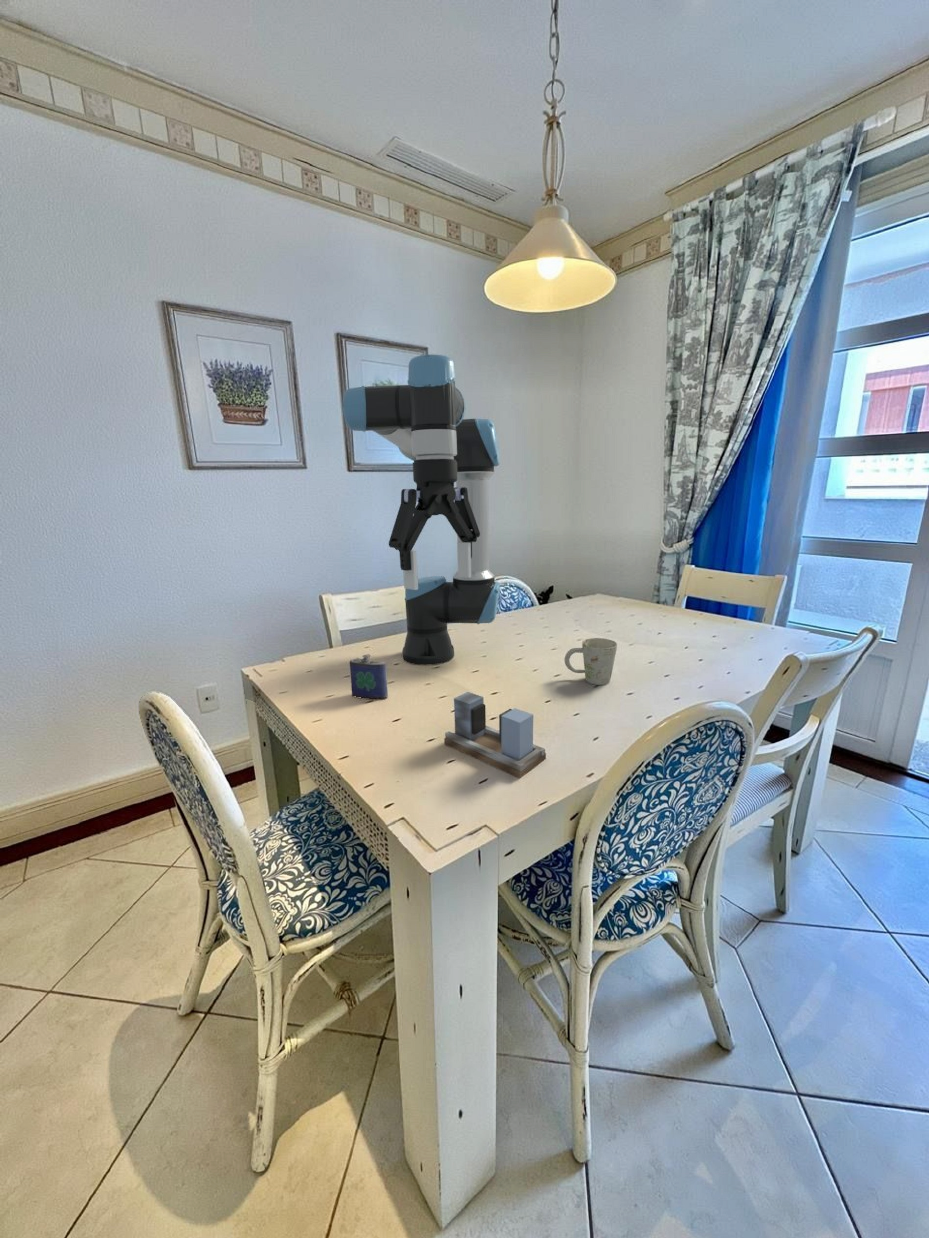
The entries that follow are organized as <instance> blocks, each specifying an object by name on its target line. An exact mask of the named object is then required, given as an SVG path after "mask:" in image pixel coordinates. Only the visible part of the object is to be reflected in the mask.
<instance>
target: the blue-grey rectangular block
mask: <svg viewBox="0 0 929 1238" xmlns="http://www.w3.org/2000/svg"><path fill="white" fill-rule="evenodd" d="M498 716H499V717H498V720H499V721H498V722H499V725H498V729H499V740H500V741H502V754H503V755H505V756H508V757H510V758H512V759H515V760H517V761H520V760H521V759H523V758H524V757H526V756H527V755H528V754H530V753H531V752H533V744H534V714H533V713H529V712H528V711H525V710H521V709H518V708H517V707H515V708H513V709H512V708H509V709H508V710H506V711H504V712H501V713H500V714H499V715H498Z"/></svg>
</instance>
